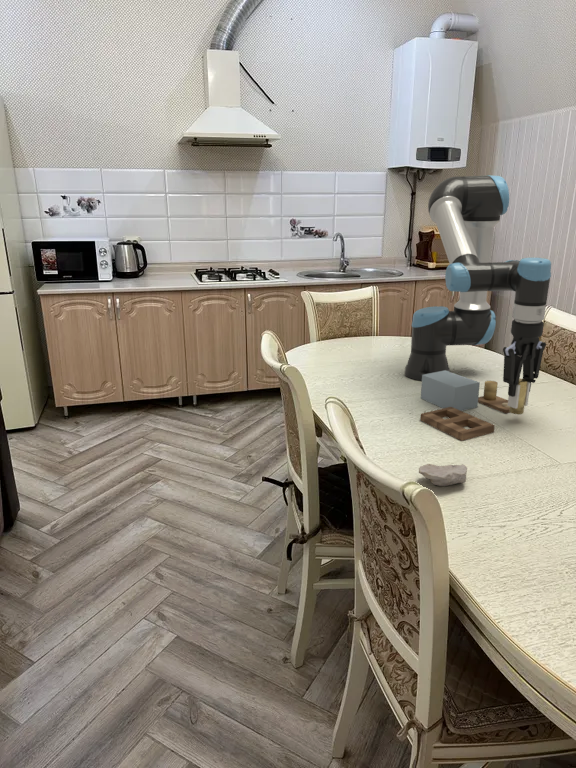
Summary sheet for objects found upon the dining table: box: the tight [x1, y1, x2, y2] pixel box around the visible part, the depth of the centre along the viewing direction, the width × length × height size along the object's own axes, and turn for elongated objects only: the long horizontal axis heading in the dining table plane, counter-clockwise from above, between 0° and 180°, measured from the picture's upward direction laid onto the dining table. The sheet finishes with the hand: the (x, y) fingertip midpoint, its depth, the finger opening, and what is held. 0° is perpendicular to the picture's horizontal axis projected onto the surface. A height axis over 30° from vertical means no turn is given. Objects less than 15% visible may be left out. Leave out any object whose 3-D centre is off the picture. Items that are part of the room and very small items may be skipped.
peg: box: [509, 377, 527, 416], centre depth 148 cm, size 4×4×9 cm
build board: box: [419, 407, 495, 442], centre depth 148 cm, size 16×11×2 cm
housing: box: [420, 370, 481, 412], centre depth 164 cm, size 14×9×8 cm, turn 27°
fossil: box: [418, 463, 468, 487], centre depth 118 cm, size 9×6×10 cm
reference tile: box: [478, 380, 510, 414], centre depth 162 cm, size 12×7×6 cm, turn 27°
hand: (517, 405), depth 149 cm, fingers closed on peg, 3 cm apart
